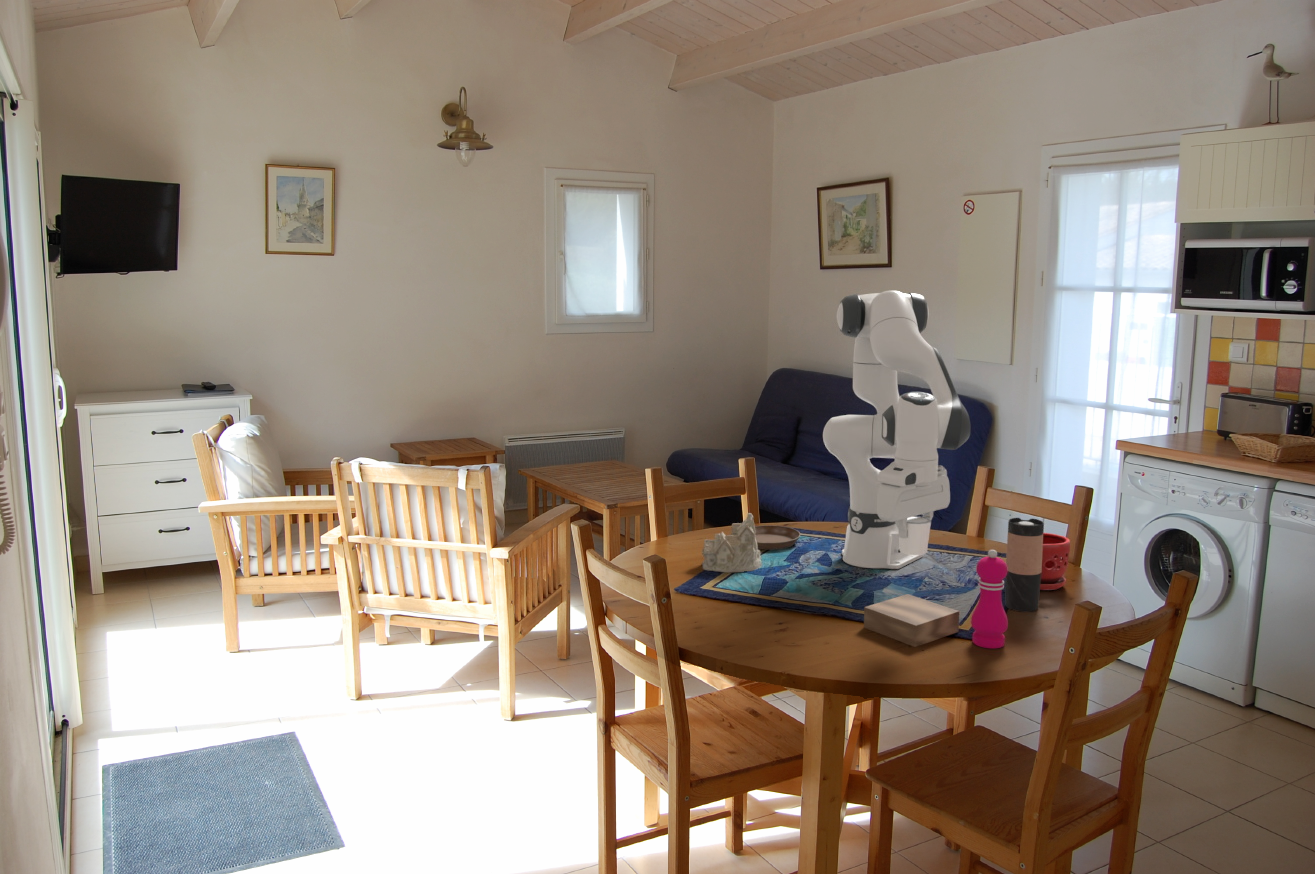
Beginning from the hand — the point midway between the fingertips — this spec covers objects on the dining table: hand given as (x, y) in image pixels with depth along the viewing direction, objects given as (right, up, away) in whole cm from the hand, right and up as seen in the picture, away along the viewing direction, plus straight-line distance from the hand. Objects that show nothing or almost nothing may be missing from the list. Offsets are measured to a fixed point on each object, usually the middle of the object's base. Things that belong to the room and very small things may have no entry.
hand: (913, 534), depth 206 cm
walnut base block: (0, -21, +4) cm, 21 cm away
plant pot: (+39, -16, +32) cm, 52 cm away
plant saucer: (-23, -10, +71) cm, 75 cm away
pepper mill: (+14, -22, -5) cm, 27 cm away
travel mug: (+29, -18, +17) cm, 38 cm away
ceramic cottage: (-34, -13, +52) cm, 64 cm away
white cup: (0, -4, +1) cm, 4 cm away
